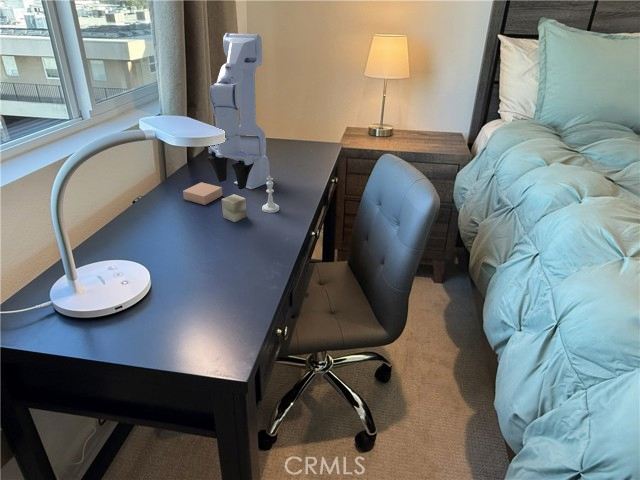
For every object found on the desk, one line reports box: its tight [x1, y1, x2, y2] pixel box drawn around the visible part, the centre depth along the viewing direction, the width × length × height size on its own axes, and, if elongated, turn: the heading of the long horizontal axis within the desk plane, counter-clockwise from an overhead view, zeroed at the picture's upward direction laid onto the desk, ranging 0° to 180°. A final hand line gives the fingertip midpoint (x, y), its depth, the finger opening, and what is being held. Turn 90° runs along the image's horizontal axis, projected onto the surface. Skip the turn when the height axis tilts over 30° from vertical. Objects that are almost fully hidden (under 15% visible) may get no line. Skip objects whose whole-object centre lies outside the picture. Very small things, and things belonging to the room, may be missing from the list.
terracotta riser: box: [182, 181, 223, 206], centre depth 133 cm, size 8×8×3 cm
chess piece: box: [261, 175, 280, 214], centre depth 125 cm, size 5×5×10 cm
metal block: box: [221, 193, 248, 223], centre depth 121 cm, size 4×4×6 cm
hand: (232, 184), depth 118 cm, fingers open, 7 cm apart
